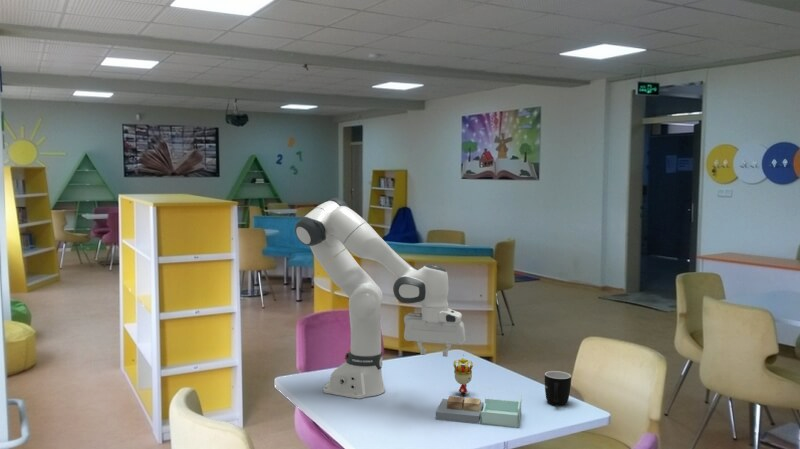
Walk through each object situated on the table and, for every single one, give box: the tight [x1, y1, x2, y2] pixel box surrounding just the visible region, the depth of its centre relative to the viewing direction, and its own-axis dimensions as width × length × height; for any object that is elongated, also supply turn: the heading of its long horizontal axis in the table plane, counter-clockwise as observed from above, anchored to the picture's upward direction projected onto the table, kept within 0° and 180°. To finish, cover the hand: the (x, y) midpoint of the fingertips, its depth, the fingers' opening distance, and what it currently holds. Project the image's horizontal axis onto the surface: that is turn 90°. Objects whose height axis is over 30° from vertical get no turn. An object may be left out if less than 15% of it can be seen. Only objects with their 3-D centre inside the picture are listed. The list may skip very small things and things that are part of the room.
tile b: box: [447, 395, 465, 410], centre depth 214 cm, size 5×5×2 cm
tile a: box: [464, 397, 482, 412], centre depth 212 cm, size 5×5×2 cm
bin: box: [479, 395, 522, 429], centre depth 210 cm, size 12×13×6 cm
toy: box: [453, 353, 474, 397], centre depth 233 cm, size 7×7×15 cm
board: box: [435, 398, 485, 425], centre depth 214 cm, size 14×13×2 cm
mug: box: [544, 370, 572, 407], centre depth 224 cm, size 12×9×10 cm
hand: (434, 355), depth 214 cm, fingers open, 6 cm apart
